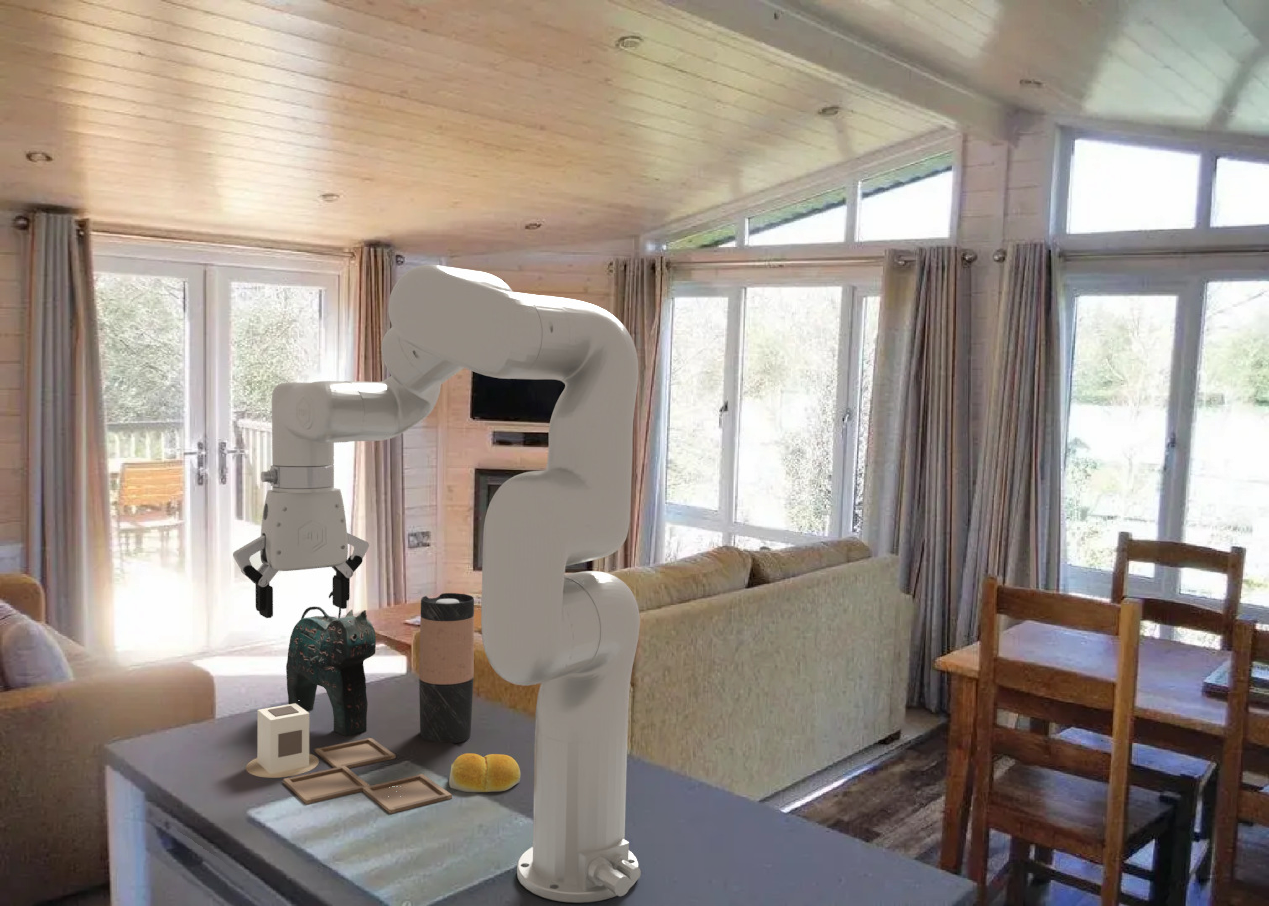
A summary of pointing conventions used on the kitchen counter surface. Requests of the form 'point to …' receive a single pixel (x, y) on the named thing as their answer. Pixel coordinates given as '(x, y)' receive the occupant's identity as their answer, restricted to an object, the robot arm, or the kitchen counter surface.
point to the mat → (258, 770)
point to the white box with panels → (283, 738)
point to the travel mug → (446, 667)
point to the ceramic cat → (332, 665)
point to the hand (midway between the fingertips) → (303, 611)
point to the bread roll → (484, 773)
